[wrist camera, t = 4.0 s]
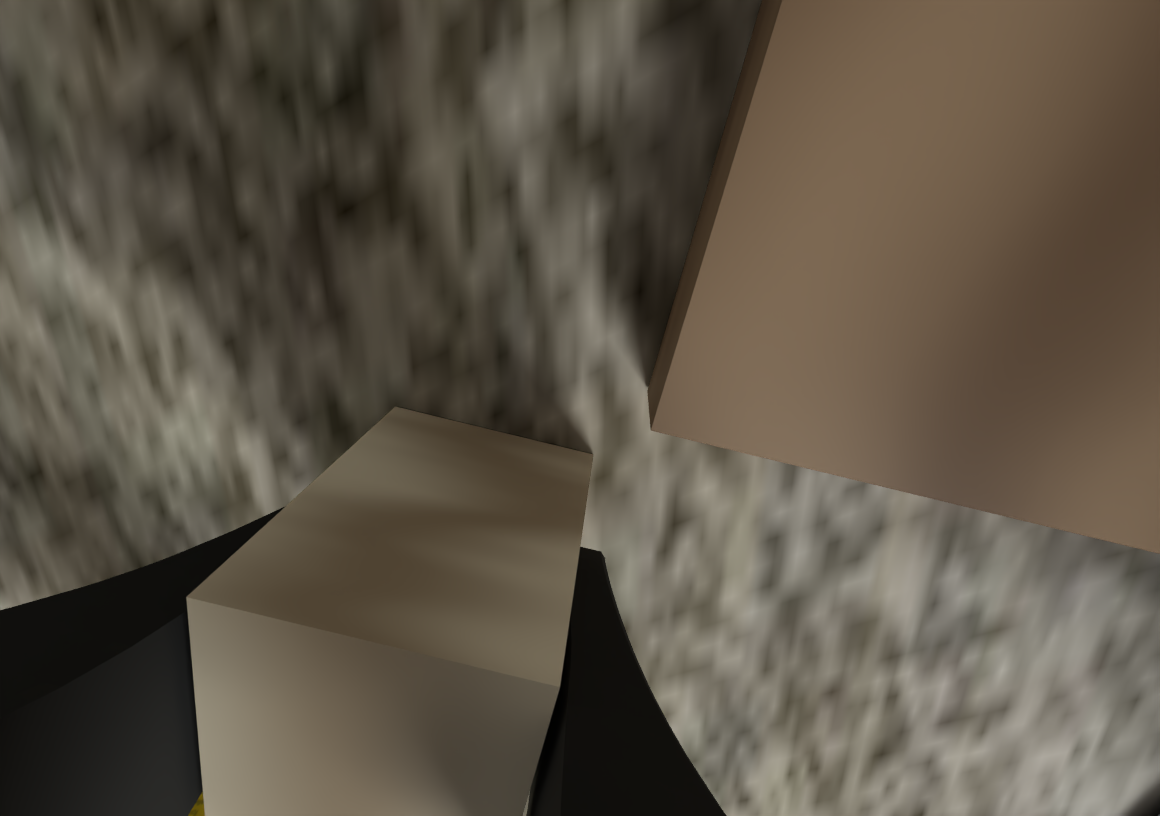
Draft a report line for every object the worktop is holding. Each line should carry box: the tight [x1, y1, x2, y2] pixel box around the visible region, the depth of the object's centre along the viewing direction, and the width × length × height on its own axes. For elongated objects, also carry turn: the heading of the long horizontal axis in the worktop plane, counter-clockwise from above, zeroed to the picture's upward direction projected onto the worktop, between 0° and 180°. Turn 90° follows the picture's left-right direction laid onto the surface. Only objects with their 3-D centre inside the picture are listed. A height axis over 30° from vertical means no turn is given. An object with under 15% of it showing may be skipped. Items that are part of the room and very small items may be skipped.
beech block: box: [186, 407, 593, 816], centre depth 10 cm, size 4×4×6 cm
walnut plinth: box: [648, 0, 1160, 554], centre depth 8 cm, size 12×12×2 cm
